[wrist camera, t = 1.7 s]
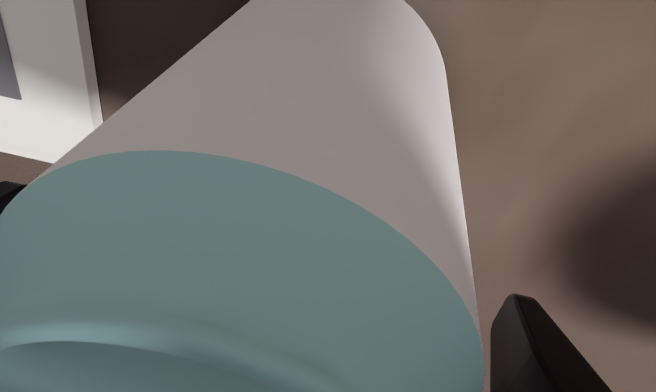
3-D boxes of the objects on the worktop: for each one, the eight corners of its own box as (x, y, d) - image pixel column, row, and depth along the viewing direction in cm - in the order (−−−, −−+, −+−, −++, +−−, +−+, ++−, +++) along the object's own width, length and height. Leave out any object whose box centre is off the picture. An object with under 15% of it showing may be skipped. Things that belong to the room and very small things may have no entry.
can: (257, -76, 13) (-265, 126, 3) (491, 29, 13) (692, 481, 4) (205, 135, 17) (-83, 508, 7) (386, 208, 17) (347, 642, 8)
